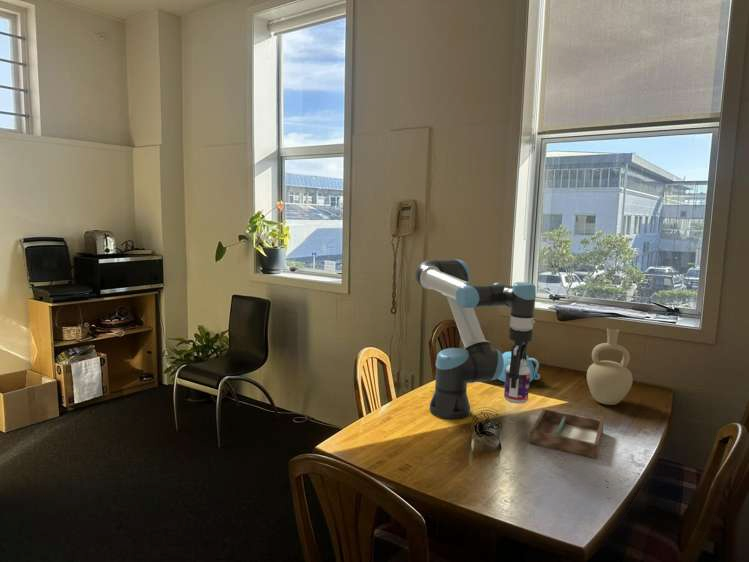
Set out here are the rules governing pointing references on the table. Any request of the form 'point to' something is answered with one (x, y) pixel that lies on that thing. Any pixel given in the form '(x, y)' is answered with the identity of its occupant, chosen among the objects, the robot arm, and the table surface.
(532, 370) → the teapot
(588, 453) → the crate
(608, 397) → the vase
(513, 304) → the robot arm
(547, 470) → the table surface
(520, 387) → the pill bottle
